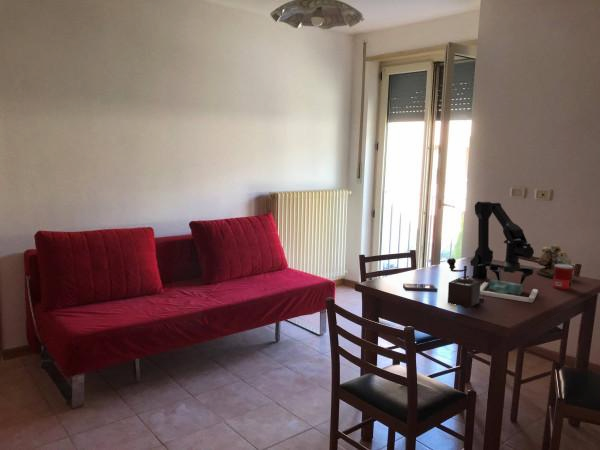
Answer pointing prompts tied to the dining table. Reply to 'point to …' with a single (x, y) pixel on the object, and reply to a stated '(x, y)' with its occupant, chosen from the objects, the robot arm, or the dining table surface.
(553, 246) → the khaki lumpy piece
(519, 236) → the robot arm
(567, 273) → the red tapered cylinder
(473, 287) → the manual coffee grinder
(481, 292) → the outline
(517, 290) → the T block
